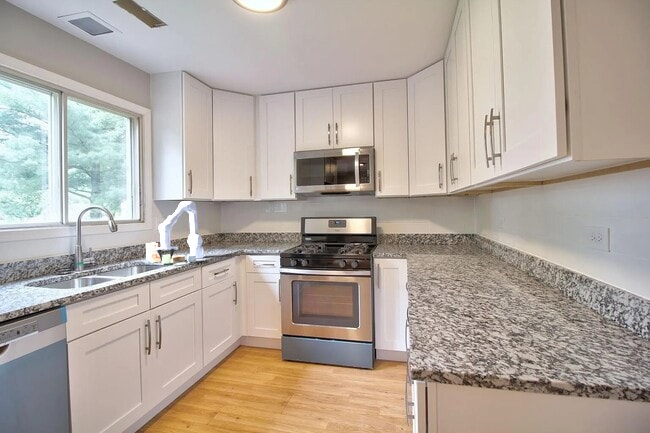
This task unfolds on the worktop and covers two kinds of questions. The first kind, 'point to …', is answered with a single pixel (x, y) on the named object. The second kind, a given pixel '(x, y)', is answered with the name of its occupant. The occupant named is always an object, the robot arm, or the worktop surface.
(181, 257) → the walnut base block
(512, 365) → the worktop surface
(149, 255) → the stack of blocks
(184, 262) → the plaque
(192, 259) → the dusty blue block
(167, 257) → the sage block
